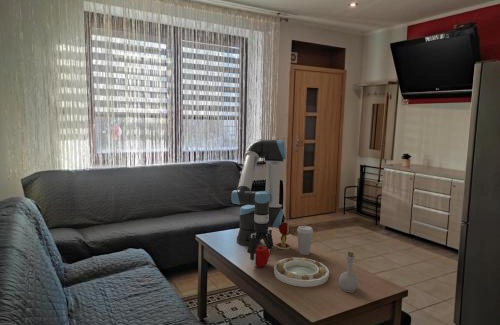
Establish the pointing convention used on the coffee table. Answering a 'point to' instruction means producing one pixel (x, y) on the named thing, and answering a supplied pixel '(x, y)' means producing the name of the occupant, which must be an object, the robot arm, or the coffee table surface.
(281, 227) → the figurine
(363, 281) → the coffee table surface
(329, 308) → the coffee table surface
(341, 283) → the potion bottle
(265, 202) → the robot arm
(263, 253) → the apple
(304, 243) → the coffee cup
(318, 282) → the bead tray
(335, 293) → the coffee table surface
